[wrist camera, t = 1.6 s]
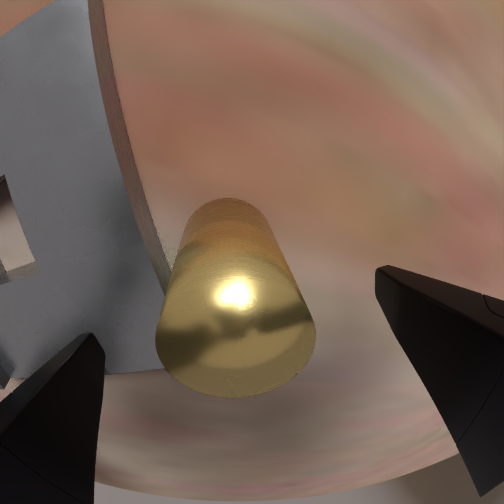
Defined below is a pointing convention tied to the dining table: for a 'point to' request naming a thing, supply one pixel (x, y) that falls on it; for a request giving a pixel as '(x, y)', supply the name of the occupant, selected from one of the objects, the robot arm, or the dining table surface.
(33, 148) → the jig
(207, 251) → the gold rounded cylinder
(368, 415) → the dining table surface
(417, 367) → the robot arm
